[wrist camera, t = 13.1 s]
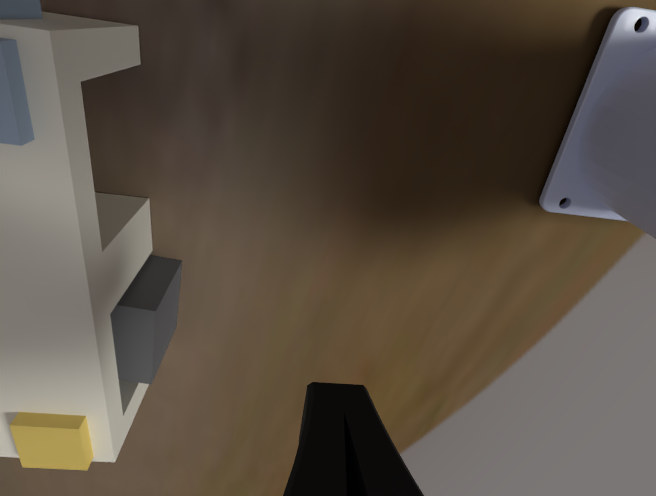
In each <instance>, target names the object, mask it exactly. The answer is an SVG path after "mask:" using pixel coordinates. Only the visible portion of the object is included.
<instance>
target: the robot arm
mask: <svg viewBox="0 0 656 496" xmlns="http://www.w3.org/2000/svg"><path fill="white" fill-rule="evenodd" d="M639 18H641V21H642V23H641V26H640V28H639V29H638V30H637V31H636V32H635V30H634V25H635V23H636V21H637V20H638V19H639ZM563 198H566V201H565V203H564V204H562V205H559V202H560V201H561V200H562V199H563ZM539 203H540V206H541V207H542V208H543V209H544V210H546V211H548V212H554V213H563V214H572V215H580V216H589V217H597V218H606V219H614V220H623V221H629V222H630V223H632V224H633V225H635V226H637V227H638V228H640V229H641V230H643V231H644V232H646V233H647V234H649V235H651V236H652V237H654V238H655V239H656V11H655V10H649V9H643V8H637V7H624V8H622V9H620V10H618V11H617V12H616V13H615V14H614V15H613V16H612V18H611V20H610V22H609V25H608V27H607V30H606V32H605V35H604V37H603V40H602V42H601V45H600V47H599V50H598V52H597V55H596V57H595V60H594V62H593V65H592V68H591V70H590V73H589V75H588V78H587V80H586V83H585V85H584V88H583V90H582V93H581V95H580V98H579V100H578V103H577V105H576V108H575V110H574V113H573V115H572V118H571V120H570V123H569V126H568V128H567V131H566V133H565V136H564V138H563V141H562V143H561V146H560V148H559V151H558V153H557V156H556V158H555V161H554V163H553V166H552V168H551V171H550V173H549V176H548V178H547V181H546V184H545V186H544V189H543V191H542V194H541V196H540V200H539ZM283 496H424V495H423V494H422V492H421V490H420V489H419V487H418V486H417V484H416V482H415V480H414V479H413V477H412V475H411V474H410V472H409V470H408V468H407V467H406V465H405V463H404V461H403V460H402V458H401V456H400V455H399V453H398V451H397V449H396V447H395V446H394V444H393V442H392V440H391V438H390V436H389V434H388V433H387V431H386V429H385V427H384V425H383V423H382V421H381V419H380V417H379V415H378V413H377V411H376V409H375V406H374V404H373V402H372V400H371V398H370V396H369V393H368V391H367V389H366V388H365V387H364V386H363V385H353V384H336V383H318V382H312V383H311V384H309V385H307V391H306V398H305V404H304V410H303V417H302V423H301V430H300V436H299V446H298V450H297V454H296V457H295V461H294V464H293V468H292V471H291V474H290V477H289V480H288V483H287V486H286V489H285V492H284V494H283Z"/></svg>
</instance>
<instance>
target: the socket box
mask: <svg viewBox="0 0 656 496" xmlns="http://www.w3.org/2000/svg"><path fill="white" fill-rule="evenodd" d="M140 64H141V61H140V45H139V30H138V26H137V25H130V24H124V23H117V22H110V21H103V20H97V19H90V18H83V17H76V16H70V15H63V14H56V13H49V12H42V10H41V4H40V0H0V457H19V458H20V461H21V464H22V467H29V468H50V469H71V470H87V469H88V467H89V465H90V463H91V461H100V462H115V461H116V459H117V456H118V454H119V452H120V449H121V447H122V445H123V442H124V440H125V438H126V436H127V433H128V431H129V429H130V426H131V424H132V422H133V419H134V417H135V415H136V413H137V410H138V408H139V406H140V403H141V401H142V399H143V396H144V394H145V392H146V390H147V387H148V385H149V384H145V383H137V382H130V381H123V380H119V379H118V372H117V364H116V356H115V348H114V340H113V332H112V325H111V317H110V314H111V312H112V311H113V309H114V308H115V306H116V305H117V303H118V302H119V300H120V299H121V297H122V296H123V294H124V293H125V291H126V290H127V288H128V287H129V285H130V284H131V282H132V281H133V279H134V278H135V276H136V275H137V273H138V272H139V270H140V269H141V267H142V266H143V264H144V263H145V261H146V260H147V258H148V257H149V255H150V254H151V252H152V251H153V249H152V233H151V217H150V202H149V198H142V197H133V196H124V195H115V194H106V193H97V192H95V191H94V183H93V176H92V168H91V160H90V152H89V144H88V136H87V129H86V121H85V113H84V105H83V97H82V89H81V82H82V81H85V80H89V79H92V78H96V77H99V76H103V75H106V74H109V73H113V72H116V71H120V70H123V69H127V68H130V67H134V66H137V65H140Z"/></svg>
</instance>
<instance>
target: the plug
mask: <svg viewBox="0 0 656 496" xmlns="http://www.w3.org/2000/svg"><path fill="white" fill-rule="evenodd" d="M181 269H182V261H181V260H176V259H170V258H164V257H159V256H153V255H149V257H148V258H147V260H146V261H145V263H144V264H143V266H142V267H141V269H140V270H139V272H138V273H137V275H136V276H135V278H134V279H133V281H132V282H131V284H130V285H129V287H128V288H127V290H126V291H125V293H124V294H123V296H122V297H121V299H120V300H119V302H118V303H117V305H116V306H115V308H114V309H113V311H112V312H111V314H110V317H111V325H112V332H113V340H114V348H115V356H116V364H117V372H118V379H119V380H123V381H130V382H137V383H145V384H152V382H153V380H154V377H155V375H156V373H157V370H158V368H159V366H160V363H161V361H162V359H163V356H164V354H165V352H166V349H167V347H168V345H169V342H170V340H171V338H172V335H173V333H174V331H175V328H176V324H177V313H178V302H179V291H180V280H181Z"/></svg>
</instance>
